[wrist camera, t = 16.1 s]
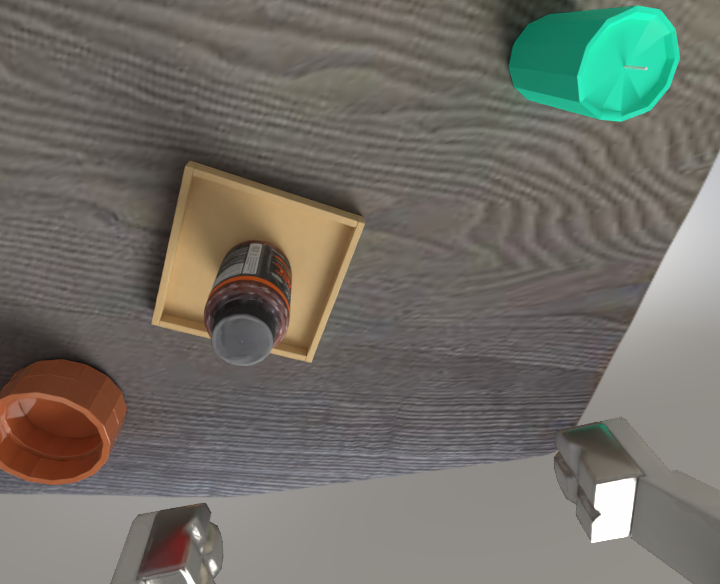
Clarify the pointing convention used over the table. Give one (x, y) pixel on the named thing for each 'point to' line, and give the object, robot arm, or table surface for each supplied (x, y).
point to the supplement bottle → (249, 303)
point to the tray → (263, 223)
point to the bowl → (58, 421)
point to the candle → (597, 61)
